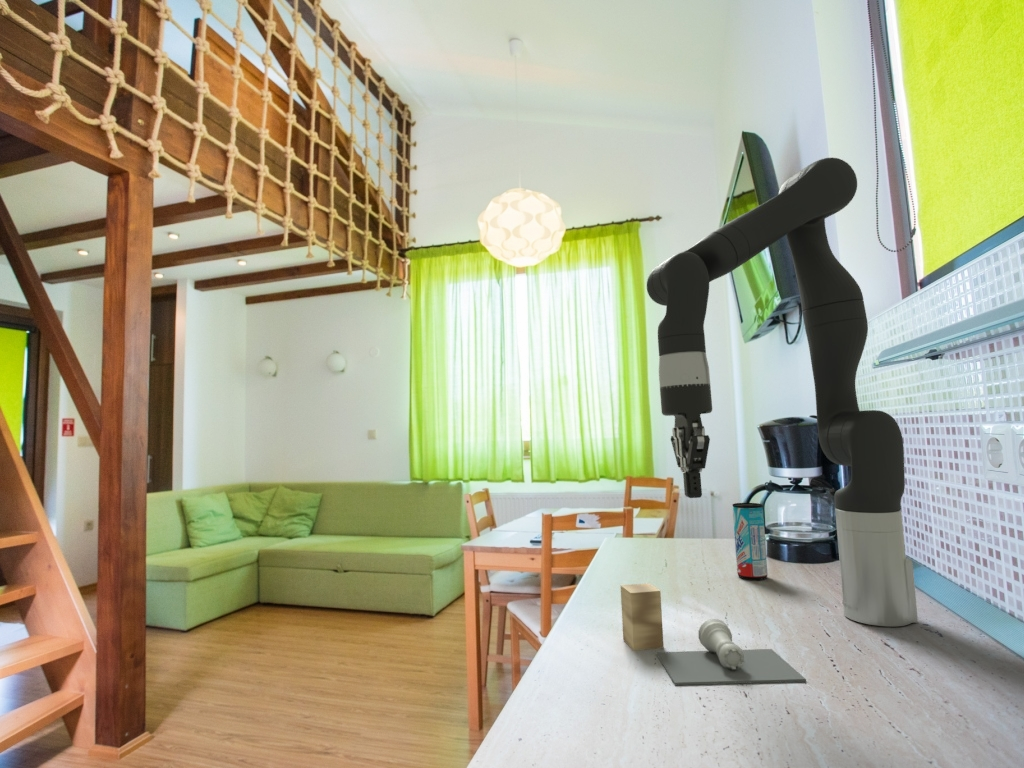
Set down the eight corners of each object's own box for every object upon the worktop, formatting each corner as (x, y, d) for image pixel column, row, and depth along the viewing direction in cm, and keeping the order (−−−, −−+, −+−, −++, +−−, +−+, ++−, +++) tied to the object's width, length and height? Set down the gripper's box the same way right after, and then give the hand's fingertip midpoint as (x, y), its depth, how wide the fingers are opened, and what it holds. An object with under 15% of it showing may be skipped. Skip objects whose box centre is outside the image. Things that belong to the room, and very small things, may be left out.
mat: (771, 651, 81) (771, 648, 81) (806, 681, 71) (805, 679, 71) (656, 654, 81) (656, 652, 81) (674, 685, 71) (674, 682, 71)
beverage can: (741, 572, 125) (736, 502, 127) (770, 575, 122) (765, 503, 123) (733, 578, 120) (728, 505, 122) (764, 582, 117) (758, 506, 118)
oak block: (651, 637, 88) (648, 583, 89) (663, 647, 84) (660, 590, 85) (623, 639, 88) (620, 585, 88) (633, 650, 83) (630, 593, 84)
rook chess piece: (725, 651, 82) (748, 680, 74) (694, 645, 82) (713, 673, 74) (731, 620, 82) (754, 646, 74) (700, 614, 82) (720, 639, 74)
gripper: (723, 378, 83) (733, 501, 82) (696, 386, 96) (704, 491, 95) (671, 381, 83) (680, 503, 82) (651, 388, 96) (658, 493, 95)
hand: (693, 497), depth 88 cm, fingers closed
